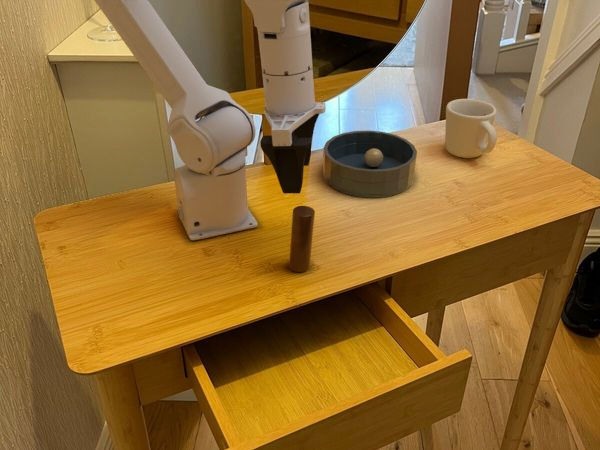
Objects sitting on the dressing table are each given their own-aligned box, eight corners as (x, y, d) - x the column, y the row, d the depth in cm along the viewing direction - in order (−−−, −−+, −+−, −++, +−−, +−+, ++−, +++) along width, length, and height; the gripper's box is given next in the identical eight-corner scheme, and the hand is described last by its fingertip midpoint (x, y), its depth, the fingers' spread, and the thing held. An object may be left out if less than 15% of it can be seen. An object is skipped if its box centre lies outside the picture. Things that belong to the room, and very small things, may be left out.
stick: (294, 274, 77) (299, 218, 72) (285, 262, 78) (289, 207, 74) (313, 269, 78) (318, 214, 74) (303, 258, 80) (308, 203, 75)
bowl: (347, 205, 91) (348, 178, 88) (309, 163, 102) (309, 138, 99) (431, 187, 95) (434, 161, 93) (385, 149, 106) (388, 125, 104)
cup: (509, 165, 102) (518, 119, 97) (467, 173, 99) (475, 126, 95) (470, 138, 110) (477, 95, 106) (431, 146, 108) (437, 102, 103)
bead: (373, 173, 100) (378, 168, 97) (358, 162, 100) (363, 156, 97) (384, 158, 101) (389, 153, 98) (369, 147, 101) (373, 142, 98)
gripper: (315, 87, 63) (322, 205, 70) (328, 49, 76) (334, 153, 82) (247, 90, 64) (261, 205, 71) (271, 52, 77) (281, 154, 83)
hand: (296, 177), depth 77 cm, fingers open, 7 cm apart
